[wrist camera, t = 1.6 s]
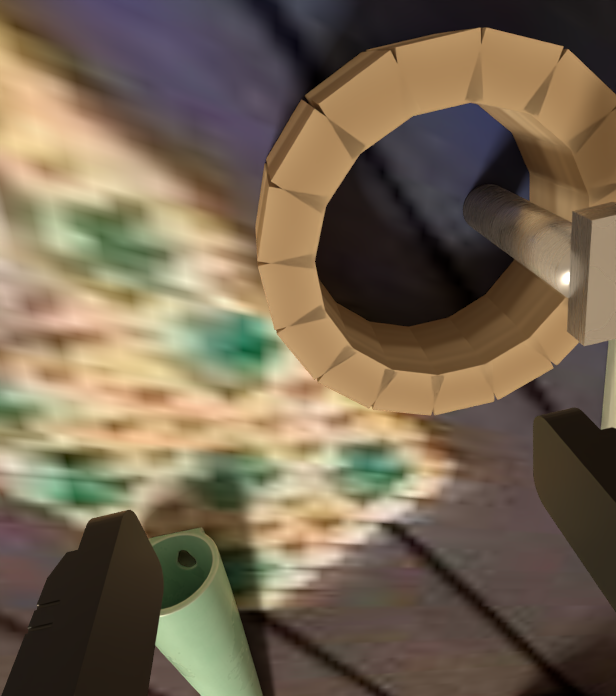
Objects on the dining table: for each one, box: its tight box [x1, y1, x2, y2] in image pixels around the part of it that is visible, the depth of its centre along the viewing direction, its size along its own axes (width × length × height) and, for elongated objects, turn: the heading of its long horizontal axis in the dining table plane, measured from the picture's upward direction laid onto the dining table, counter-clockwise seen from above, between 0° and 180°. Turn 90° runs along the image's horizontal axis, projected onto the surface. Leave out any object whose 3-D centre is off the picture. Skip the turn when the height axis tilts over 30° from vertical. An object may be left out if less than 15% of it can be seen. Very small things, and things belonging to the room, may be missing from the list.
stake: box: [463, 184, 616, 346], centre depth 19 cm, size 4×2×9 cm, turn 12°
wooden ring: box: [256, 27, 616, 415], centre depth 21 cm, size 14×14×4 cm
